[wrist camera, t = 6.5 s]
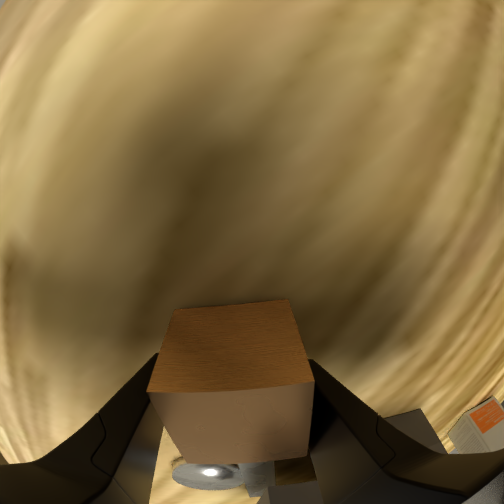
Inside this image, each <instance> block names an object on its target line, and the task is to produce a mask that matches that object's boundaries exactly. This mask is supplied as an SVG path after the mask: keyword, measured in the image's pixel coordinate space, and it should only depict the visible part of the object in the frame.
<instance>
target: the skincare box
mask: <svg viewBox="0 0 504 504" xmlns="http://www.w3.org/2000/svg"><path fill="white" fill-rule="evenodd" d="M448 436H449V438H450V439H451V441H452V443H453V444H454V446H455V447H456V449H457V451H458V452H459V454H470V453H485V452H493V451H498V450H500V449H503V448H504V408H503V407H502V406H501V404H500V403H499V402H498V401H497V399H496V398H495V397H494V396H492V397H491V398H490V399H488V400H487V401H485V402H483V403H482V404H480V405H478V406H477V407H475V408H473V409H471V410H469V411H467V412H465V413H464V414H463V415H462V416H461V418H460V419H459V420H458V422H457V423H456V424H455V425H454V427H453V428H452V429H451V430H450V431H449V433H448Z"/></svg>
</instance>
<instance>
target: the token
mask: <svg viewBox="0 0 504 504" xmlns="http://www.w3.org/2000/svg"><path fill="white" fill-rule="evenodd" d="M172 477H173V479H174V480H175V481H176V482H178V483H179V484H182V485H184V486H187V487H191V488H195V489H202V490H224V489H230V488H234V487H237V486H240V485H242V484H243V483H244V480H243V477H242V474H241V471H240V468H239V466H238V464H187V463H186V461H185V460H184V458H183V457H180V458H178V459H176V460H175V461H174V462H173V472H172Z"/></svg>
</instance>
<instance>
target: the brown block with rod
mask: <svg viewBox="0 0 504 504" xmlns="http://www.w3.org/2000/svg"><path fill="white" fill-rule="evenodd" d="M314 384H315V380H314V377H313V374H312V371H311V368H310V365H309V361H308V358H307V355H306V352H305V349H304V346H303V343H302V340H301V337H300V334H299V331H298V328H297V325H296V322H295V319H294V316H293V313H292V310H291V307H290V304H289V301H288V299H283V300H274V301H265V302H256V303H246V304H236V305H225V306H213V307H201V308H187V309H175V310H174V313H173V315H172V318H171V321H170V323H169V326H168V329H167V332H166V335H165V337H164V340H163V343H162V346H161V349H160V352H159V355H158V358H157V361H156V364H155V367H154V370H153V373H152V376H151V379H150V382H149V385H148V388H147V391H146V392H147V394H148V396H149V398H150V400H151V402H152V404H153V406H154V408H155V410H156V412H157V414H158V416H159V417H160V419H161V421H162V423H163V425H164V426H165V428H166V430H167V432H168V433H169V435H170V437H171V439H172V440H173V442H174V444H175V445H176V447H177V448H178V450H179V452H180V453H181V455H182V456H183V458H184V460H185V461H186V463H187V464H238V466H239V468H240V471H241V474H242V477H243V480H244V483H245V485H246V488H247V491H248V493H249V496H250V497H259V496H262V494H263V493H264V491H265V490H266V488H267V486H276V480H275V468H274V461H276V460H284V459H291V458H298V457H304V456H307V451H308V443H309V435H310V426H311V417H312V407H313V396H314Z"/></svg>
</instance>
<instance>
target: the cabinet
mask: <svg viewBox="0 0 504 504" xmlns="http://www.w3.org/2000/svg"><path fill="white" fill-rule="evenodd" d="M385 420H386V421H388V422H389V423H390V424H392V425H393V426H394V427H396V428H397V429H399V430H400V431H402V432H403V433H405V434H406V435H408V436H410V437H411V438H413V439H415V440H416V441H418V442H420V443H421V444H423V445H425V446H426V447H428V448H430V449H432V450H434V451H436V452H439V453H443V454H448V453H447V451H446V450H445V448H444V446H443V444H442V443H441V441H440V439H439V438H438V436H437V434H436V433H435V431H434V430H433V428H432V426H431V425H430V423H429V421H428V420H427V418H426V417H425V415H424V413H423V412H422V410H421V409H418V410H414V411H411V412H408V413H404V414H401V415H397V416H393V417H389V418H385ZM257 504H324V503H323V499H322V496H321V492H320V488H319V485H318V481H311V482H304V483H297V484H289V485H279V486H267V488H266V490H265V491H264V493H263V494H262V496H261V498H260V499H259V501H258V502H257Z"/></svg>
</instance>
